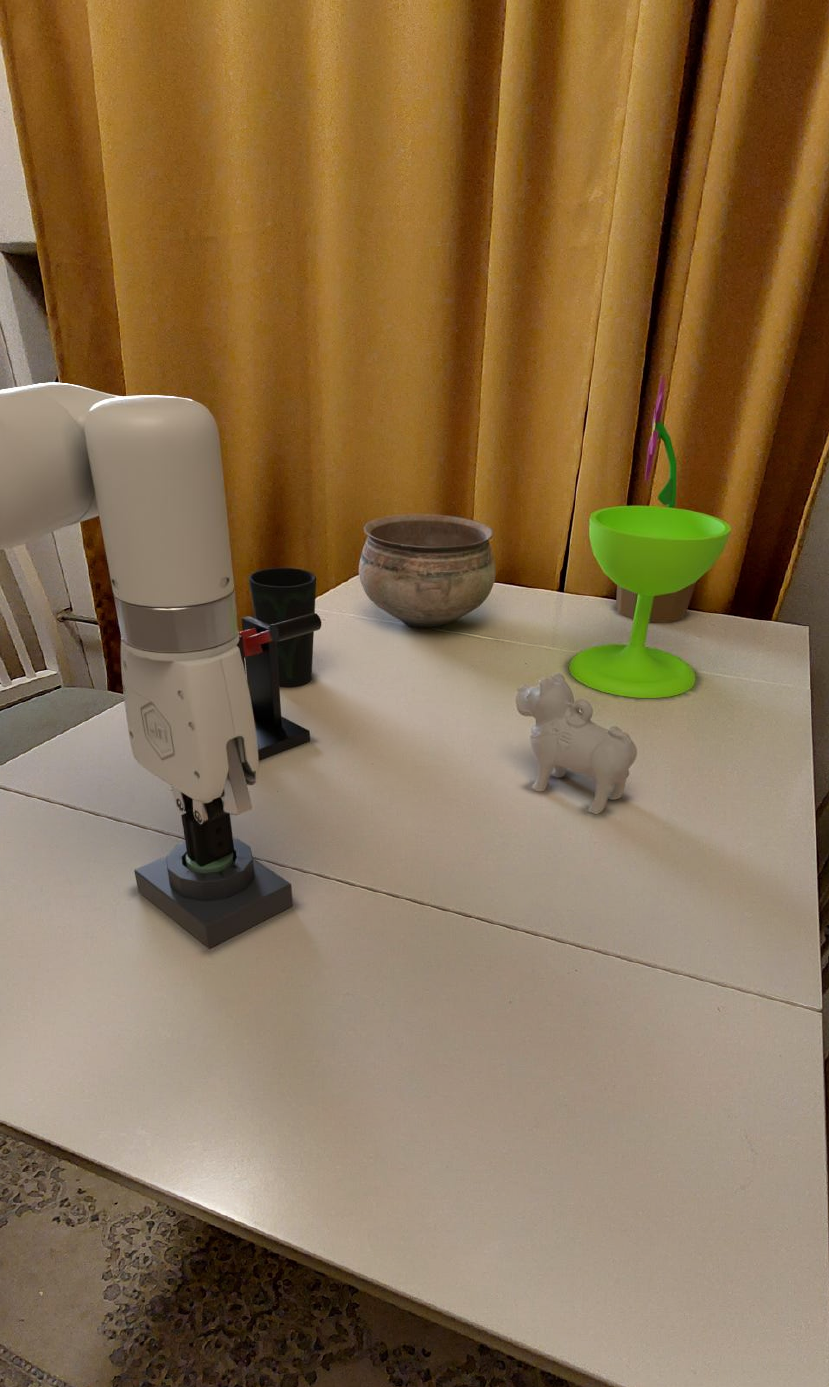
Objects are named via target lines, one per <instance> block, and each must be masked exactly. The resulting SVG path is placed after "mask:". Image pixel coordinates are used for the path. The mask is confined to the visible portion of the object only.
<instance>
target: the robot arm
mask: <svg viewBox="0 0 829 1387" xmlns="http://www.w3.org/2000/svg"><path fill="white" fill-rule="evenodd" d="M220 440H221V439H220V434H219V428H218V424H217V421H216V419H215V417H214V415H213V414H212V413H211V411H210V410H209V408H207V407H206V406H205V405H204V404H203V403H201V402H198V401H196V400H193V399H191V398H187V397H186V398H184V397H178V396H170V395H127V396H126V395H125V396H121V395H115V394H110V393H107V392H104V391H99V390H95V389H91V388H89V387H85V386H80V385H76V384H70V383H62V382H45V383H43V382H42V383H36V384H31V385H26V386H25V385H24V386H17V387H11V388H5V389H0V550H7V549H12V548H16V547H18V546H21V545H24V544H27V543H30V542H32V541H34V540H37V539H39V538H42V537H44V536H46V535H49V534H51V533H53V532H55V531H58V530H60V529H63V528H66V527H69V526H72V525H75V524H80V523H81V522H85V521H87V520H91V519H93V518H97V517H98V518H99V521H100V528H101V534H102V539H103V545H104V550H105V556H106V560H107V567H108V573H109V577H110V583H111V589H112V593H113V600H114V605H115V610H116V616H117V621H118V627H119V631H120V669H121V681H122V692H123V700H124V708H125V716H126V723H127V729H128V730H127V731H128V734H129V735H128V737H129V742H130V747H131V748H130V749H131V752H132V753H131V754H132V755H133V757H134V759H135V761H136V762H137V763H138V764H139V765H140V766H141V767H142V768H143V769H145V770H147V771H148V772H150V773H151V774H153V775H154V776H155V777H157V778H159V779H160V780H161V781H163V782H165V783H166V784H168V785H169V786H171V789H172V794H173V798H174V802H175V805H176V808H177V809H178V810H179V812H181V813H182V814H180V816H181V823H182V829H183V835H184V842H185V843H186V849H187V855H188V857H189V858H190V859H191V860H193V861H196V863H197V864H198V865H200V866H201V867H203V866H205V865H207V864H210V863H212V862H214V861H216V860H219V859H221V858H223V857H225V856H227V855H230V854H232V853H233V851H234V844H233V838H234V837H233V829H232V820H231V816H232V815H233V816H238V815H241V814H243V813H246V812H248V811H250V810H252V808H253V804H252V799H251V796H250V791H249V788H248V786H254V785H256V784H257V781H258V779H259V773H260V772H259V769H260V767H259V766H260V764H259V763H260V762H259V761H260V760H258V746H257V737H256V729H255V723H254V716H253V710H252V704H251V698H250V693H249V688H248V683H247V675H246V674H245V670H244V665H243V662H242V658H241V654H240V650H239V647H237V646H236V645H237V644H238V642H239V632H240V631H239V622H238V611H237V601H236V592H235V582H234V581H235V580H234V571H233V570H234V569H233V561H232V550H231V540H230V530H229V528H230V527H229V519H228V510H227V509H228V508H227V500H226V489H225V479H224V468H223V459H222V457H223V456H222V449H221V447H222V446H221V441H220Z"/></svg>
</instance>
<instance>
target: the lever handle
mask: <svg viewBox="0 0 829 1387" xmlns="http://www.w3.org/2000/svg"><path fill="white" fill-rule="evenodd" d="M320 629H322V619H321V617H320V616H319V614H318V613H316V612H315V613H312V614H309V615H305V616H301V617H298V618H294V619H290V620H287V621H283V622H279V623H276V624H272V625H270V627H269V630H268V631H265V632H262V633H259V634H257V632H256V629H255V628H253V629H249V630H246V631H239V635H240V636H242V637H243V647H244V658H245V657H249V656H252V655H255V654H258V653H262V652H263V650H262V647H261V645H262V644H265V643H268V642H271V641H274V642H279V641H282V640H286V639H289V638H293V637H296V636H300V635H303V634H307V633H310V632H313V631H314V632H317V631H319V630H320Z"/></svg>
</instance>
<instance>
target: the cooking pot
mask: <svg viewBox="0 0 829 1387" xmlns="http://www.w3.org/2000/svg"><path fill="white" fill-rule="evenodd" d="M363 530H364V533H365V534H366V535H367V537H366V540H365V542H364V544H363V548H362V551H361V555H360V560H359V565H358V578H359V582H360V583H361V586H362V589H363V591H364V593H365V595H366V596H367V598H368V599H369V600H370V601H371V602H372V603H373V604H374V605H375V606H376V607H377V608H379V609H381V610H382V611H384V612H386V613H387V614H389V615H390V616H392V617H394V618H396V619H397V620H399V621H401V622H402V623H403V624H405V625H407V626H409V627H413V628H418V629H438V628H442V627H445V626H447V625H448V624H449V623H452V622H454V621H456V620H458V619H460V618H462V617H464V616H466V615H468V614H469V613H471V612H473V611H475V610H476V609H477V608H479V607H480V606H481V605H482V604H483V603H484V602H485V601H486V600H487V598H488V597H489V595H490V594H491V591H492V589H493V587H494V584H495V581H496V575H497V574H496V573H497V571H496V570H497V569H496V564H495V563H496V562H495V557H494V553H493V550H492V546H491V542H490V540H491V539H492V538H493V536H494V530H493V529H492V528H491V526H489V525H487V524H485V523H482V522H480V521H478V520H475V519H470V518H466V517H461V516H454V515H447V514H435V513H433V514H432V513H409V514H396V515H389V516H382V517H379V518H376V519H375V518H374V519H372V520H371V521H369V522H367V523H366V524H365V525H364V526H363Z"/></svg>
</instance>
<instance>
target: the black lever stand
mask: <svg viewBox="0 0 829 1387" xmlns="http://www.w3.org/2000/svg"><path fill="white" fill-rule="evenodd" d="M269 627H270V625H268V624H266V623H264V622H261V621H259V620H257V619H255V617H252V616H245V617H241V630H242V631H246V630H249V629H253V628H255V629H256V632H257V634H259V633H262V632H265V631H268V630H269ZM242 631H241V632H242ZM236 646H237V647H239V650H240V654H241V658H242V662H243V665H244V670H245V674H246V678H247V683H248V688H249V693H250V698H251V704H252V710H253V716H254V723H255V729H256V737H257V746H258V760H259V761H261V760H263V759H266V758H269V757H271V756H274V755H277V754H279V753H282V752H285V751H288V750H290V749H292V748H296V747H298V746H300V745H303V744H305V743H308V742H311V731H310V729H307V728H306V727H303V726H301V725H299V724H297V723H296V722H294V721H291V720H289V719H287V718H286V717H284V716H282V704H281V690H280V689H281V688H280V687H279V674H278V659H277V644H276V642H274V641H271V642H268V643H265V644H262V645H261V647H262V650H263V652H262V653H258V654H255V655H252V656H249V657H245V658H244V647H243V637H242V636H240V635H239V642H238V644H237V645H236Z"/></svg>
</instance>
